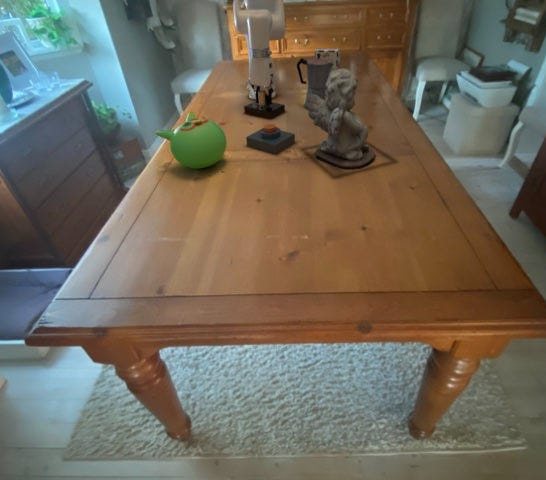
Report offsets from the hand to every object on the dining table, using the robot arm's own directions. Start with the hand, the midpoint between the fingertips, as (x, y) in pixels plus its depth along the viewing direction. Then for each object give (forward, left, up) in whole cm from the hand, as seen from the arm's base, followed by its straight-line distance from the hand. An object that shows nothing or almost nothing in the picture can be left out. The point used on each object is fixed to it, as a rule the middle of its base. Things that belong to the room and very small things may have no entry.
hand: (264, 103), depth 144 cm
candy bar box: (+5, +42, -4) cm, 42 cm away
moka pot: (+14, +17, -4) cm, 22 cm away
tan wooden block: (0, 0, -1) cm, 1 cm away
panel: (0, 0, -4) cm, 4 cm away
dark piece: (+22, -24, -4) cm, 33 cm away
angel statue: (+49, -18, -4) cm, 52 cm away
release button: (+22, -24, +1) cm, 33 cm away
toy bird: (+12, -48, -4) cm, 50 cm away
